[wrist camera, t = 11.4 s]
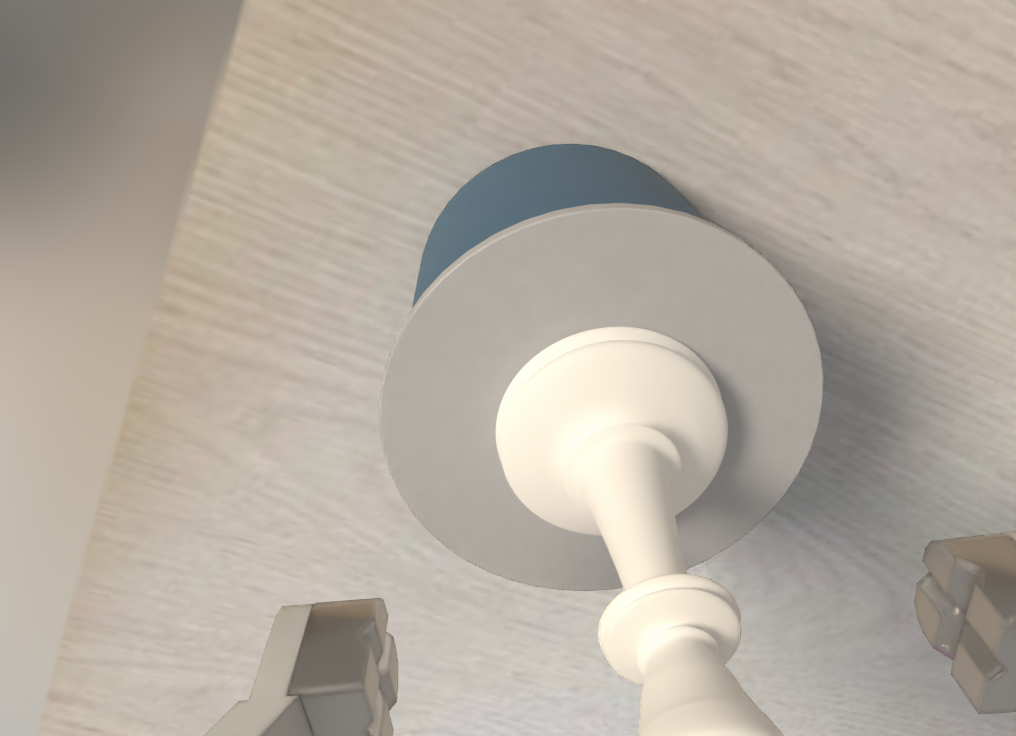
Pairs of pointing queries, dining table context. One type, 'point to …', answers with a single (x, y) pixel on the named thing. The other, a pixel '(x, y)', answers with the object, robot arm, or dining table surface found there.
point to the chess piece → (636, 510)
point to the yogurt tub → (577, 308)
